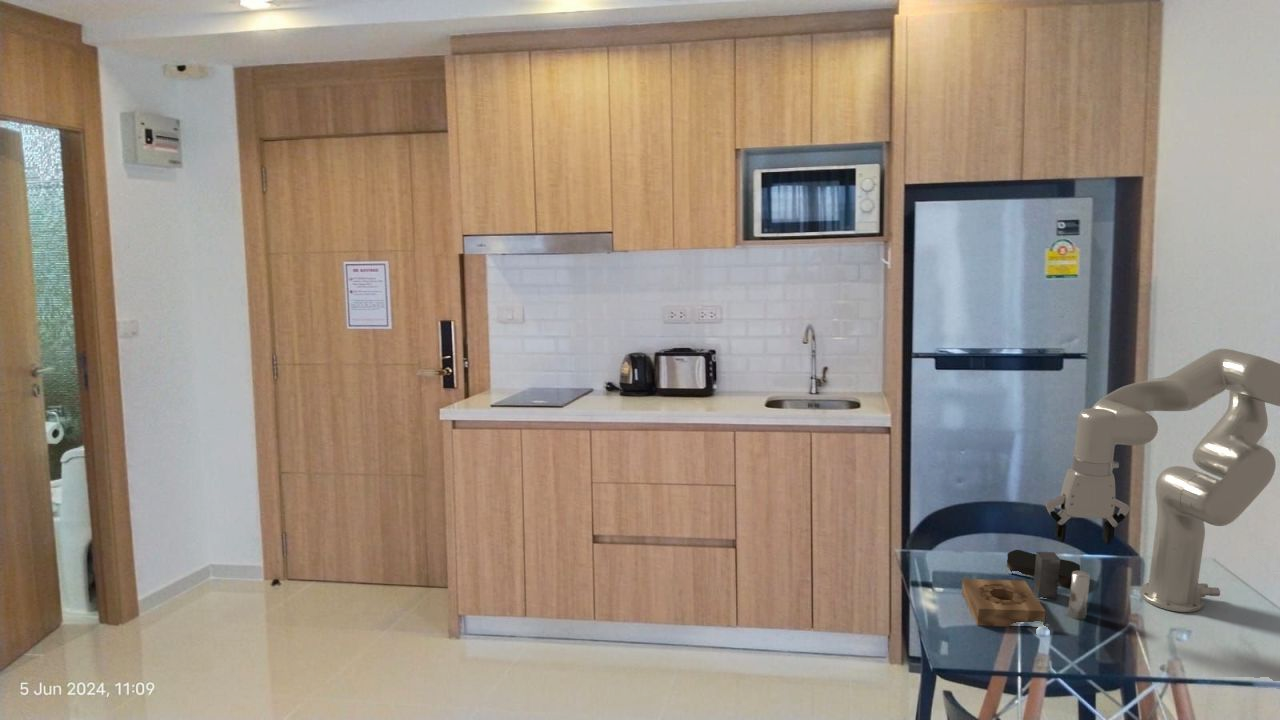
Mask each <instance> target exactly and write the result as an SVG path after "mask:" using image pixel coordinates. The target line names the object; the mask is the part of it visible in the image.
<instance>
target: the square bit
mask: <svg viewBox="0 0 1280 720" xmlns="http://www.w3.org/2000/svg"><path fill="white" fill-rule="evenodd" d="M1035 554H1036V562H1035V572H1034V579H1033V585H1032V590H1033V589H1034V591H1035V593H1036V594H1037V596H1038V598H1040V597H1043V598H1047V599H1050V600H1049V601H1052V600H1051V599H1056V600H1057V597H1058V587H1059V585H1058V579H1059V569H1060V559H1061V558H1059V557H1058V555H1057V554H1056V552H1055V551H1054V552H1052V551H1036V553H1035ZM1037 596H1036V597H1037ZM1038 598H1037V599H1038Z"/></svg>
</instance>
